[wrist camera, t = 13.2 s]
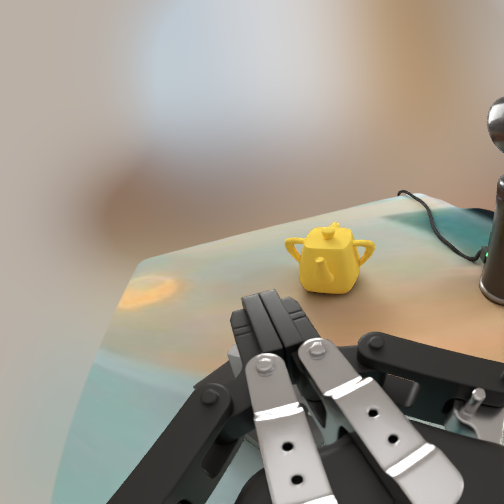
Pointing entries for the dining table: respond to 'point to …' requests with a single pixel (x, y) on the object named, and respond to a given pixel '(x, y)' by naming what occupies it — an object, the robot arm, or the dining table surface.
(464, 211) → the dining table surface
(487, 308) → the dining table surface
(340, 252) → the teapot
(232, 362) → the knob
